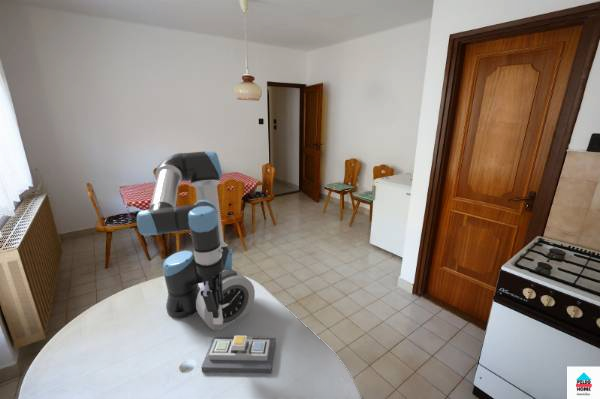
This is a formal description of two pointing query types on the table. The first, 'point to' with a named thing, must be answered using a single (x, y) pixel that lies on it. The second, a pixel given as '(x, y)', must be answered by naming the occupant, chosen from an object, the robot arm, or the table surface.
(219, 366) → the keypad
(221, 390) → the table surface
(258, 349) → the key blue
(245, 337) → the key ochre
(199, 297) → the alarm clock
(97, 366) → the table surface
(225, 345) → the key sage
